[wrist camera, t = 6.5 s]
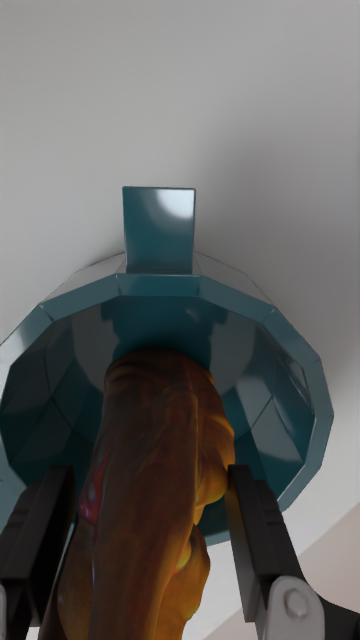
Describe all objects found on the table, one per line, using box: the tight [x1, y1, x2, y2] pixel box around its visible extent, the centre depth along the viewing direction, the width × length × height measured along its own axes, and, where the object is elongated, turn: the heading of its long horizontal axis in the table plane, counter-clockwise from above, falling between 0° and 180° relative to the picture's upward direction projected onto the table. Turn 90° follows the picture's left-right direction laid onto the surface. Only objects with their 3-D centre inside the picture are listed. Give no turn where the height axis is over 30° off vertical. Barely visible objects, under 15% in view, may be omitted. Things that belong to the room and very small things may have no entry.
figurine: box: [38, 348, 235, 640], centre depth 11 cm, size 6×7×13 cm
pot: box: [0, 186, 334, 547], centre depth 16 cm, size 15×20×5 cm
